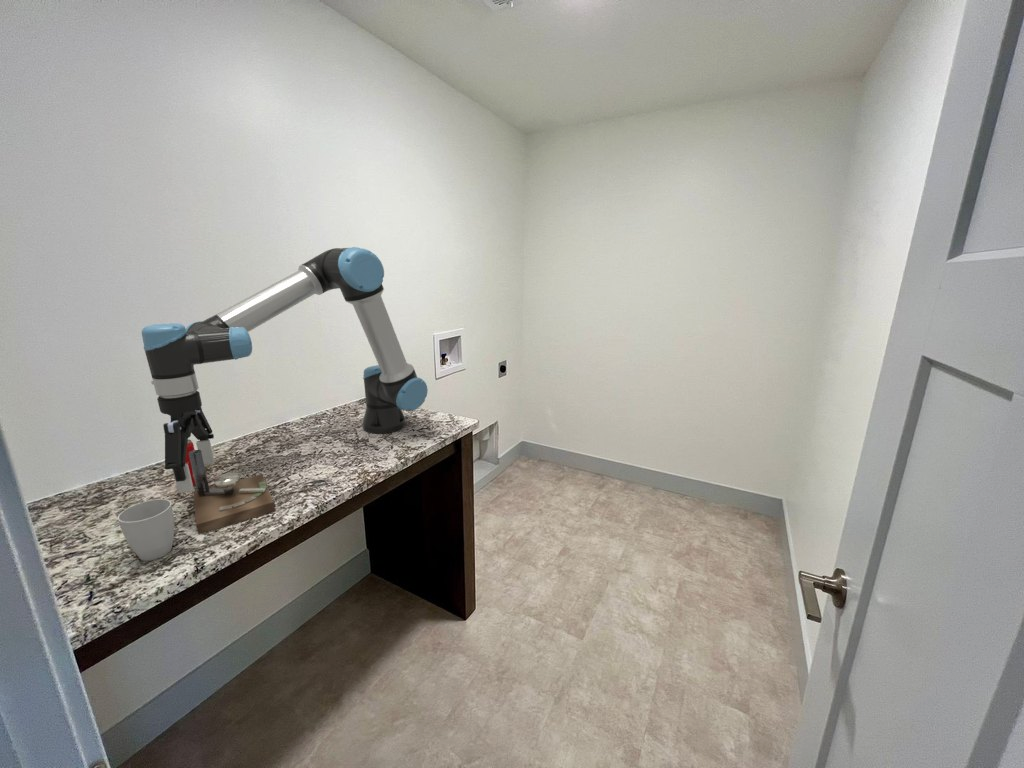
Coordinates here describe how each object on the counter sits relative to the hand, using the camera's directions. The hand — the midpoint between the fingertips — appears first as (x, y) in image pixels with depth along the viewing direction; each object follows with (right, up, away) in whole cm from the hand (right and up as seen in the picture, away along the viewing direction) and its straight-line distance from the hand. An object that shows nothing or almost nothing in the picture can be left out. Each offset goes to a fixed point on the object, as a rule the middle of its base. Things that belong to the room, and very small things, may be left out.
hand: (197, 477), depth 98 cm
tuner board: (+7, -8, +3) cm, 11 cm away
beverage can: (-12, -5, +12) cm, 17 cm away
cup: (+2, -13, -14) cm, 19 cm away
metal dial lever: (+5, -5, +3) cm, 8 cm away
